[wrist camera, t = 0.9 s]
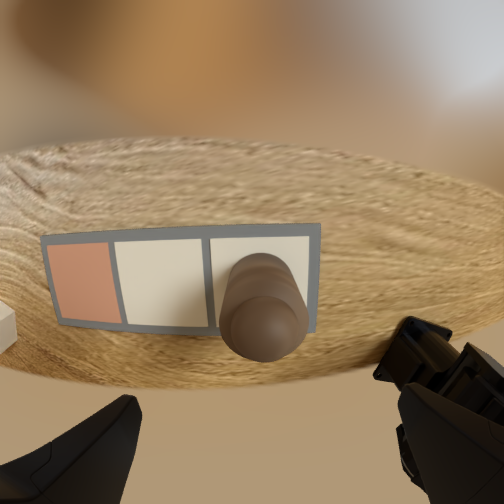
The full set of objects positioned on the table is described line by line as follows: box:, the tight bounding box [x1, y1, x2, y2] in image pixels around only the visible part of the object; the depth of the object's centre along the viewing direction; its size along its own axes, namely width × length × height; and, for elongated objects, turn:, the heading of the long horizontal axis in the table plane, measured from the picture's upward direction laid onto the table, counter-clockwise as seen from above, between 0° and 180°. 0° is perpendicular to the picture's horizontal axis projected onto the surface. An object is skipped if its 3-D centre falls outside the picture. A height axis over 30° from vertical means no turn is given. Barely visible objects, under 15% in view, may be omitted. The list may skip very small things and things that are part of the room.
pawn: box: [219, 253, 309, 362], centre depth 15 cm, size 4×4×8 cm
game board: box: [40, 223, 321, 336], centre depth 19 cm, size 22×8×1 cm, turn 91°
